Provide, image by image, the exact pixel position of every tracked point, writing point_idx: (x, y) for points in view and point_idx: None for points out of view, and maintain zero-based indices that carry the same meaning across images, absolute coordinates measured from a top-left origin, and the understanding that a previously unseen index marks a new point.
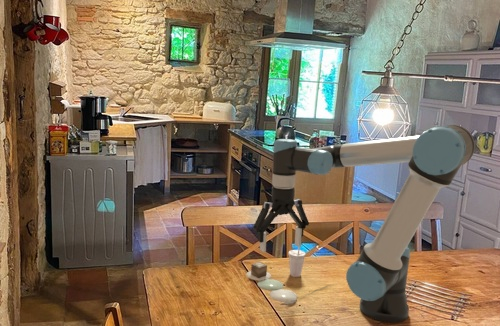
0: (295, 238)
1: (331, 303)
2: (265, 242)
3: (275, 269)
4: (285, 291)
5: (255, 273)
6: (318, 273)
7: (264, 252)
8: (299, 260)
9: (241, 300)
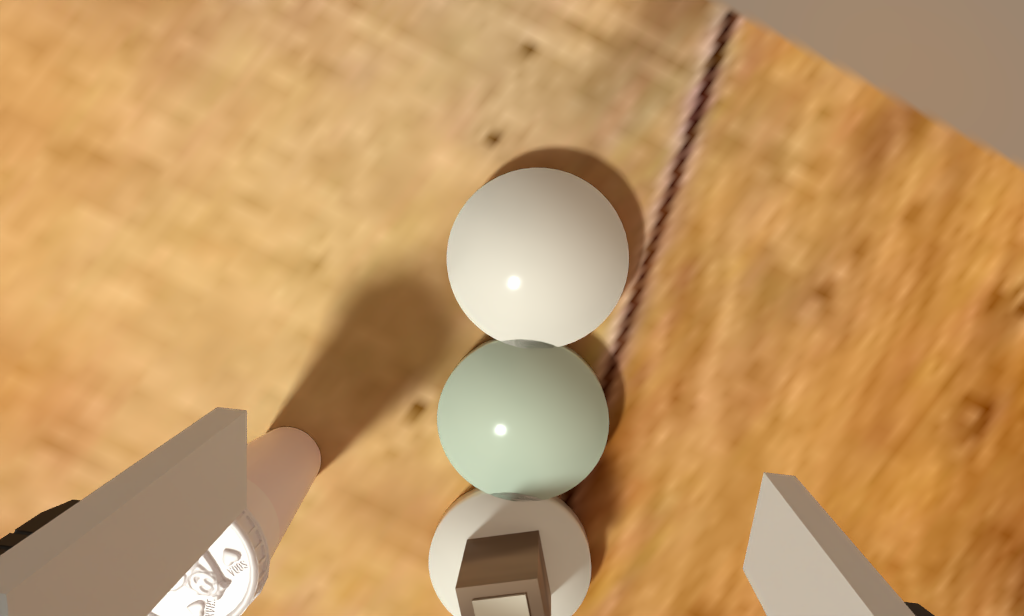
0: (191, 555)
1: (287, 57)
2: (846, 564)
3: (338, 602)
4: (491, 299)
5: (543, 572)
6: (110, 436)
7: (781, 475)
8: None
9: (789, 360)
